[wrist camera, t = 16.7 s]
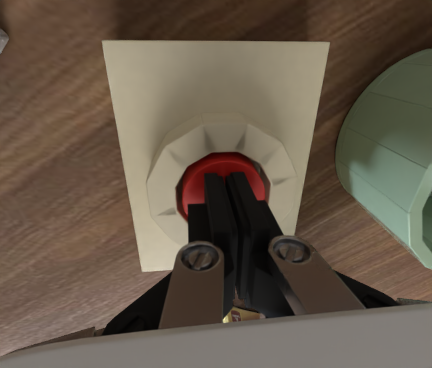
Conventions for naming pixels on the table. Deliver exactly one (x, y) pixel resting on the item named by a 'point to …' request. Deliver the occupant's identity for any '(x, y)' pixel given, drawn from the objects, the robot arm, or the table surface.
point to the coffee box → (3, 39)
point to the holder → (393, 153)
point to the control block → (210, 124)
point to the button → (222, 166)
